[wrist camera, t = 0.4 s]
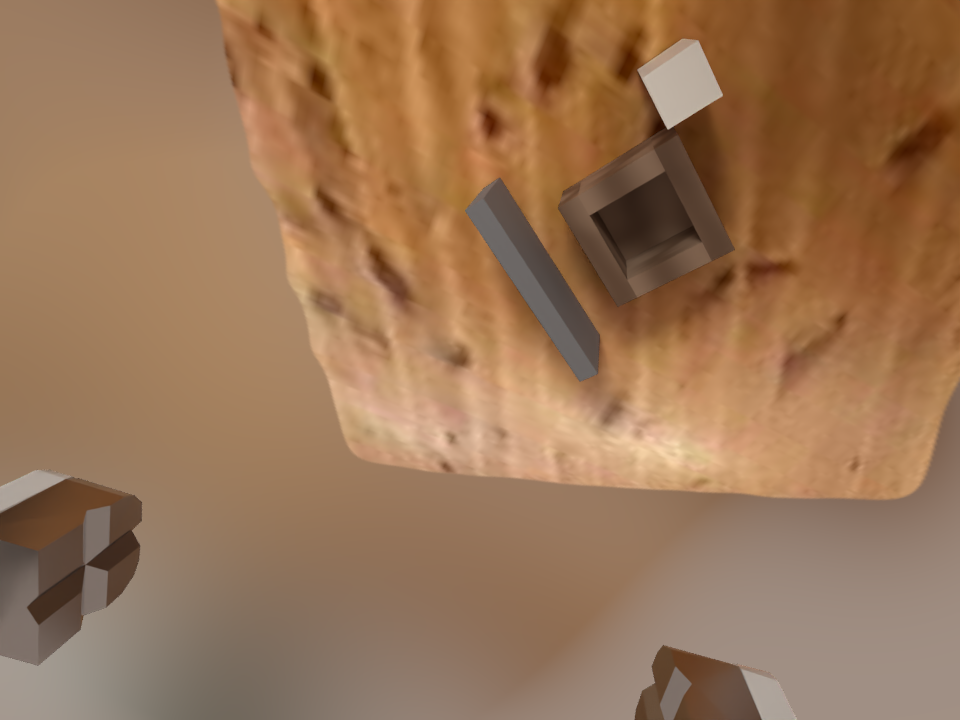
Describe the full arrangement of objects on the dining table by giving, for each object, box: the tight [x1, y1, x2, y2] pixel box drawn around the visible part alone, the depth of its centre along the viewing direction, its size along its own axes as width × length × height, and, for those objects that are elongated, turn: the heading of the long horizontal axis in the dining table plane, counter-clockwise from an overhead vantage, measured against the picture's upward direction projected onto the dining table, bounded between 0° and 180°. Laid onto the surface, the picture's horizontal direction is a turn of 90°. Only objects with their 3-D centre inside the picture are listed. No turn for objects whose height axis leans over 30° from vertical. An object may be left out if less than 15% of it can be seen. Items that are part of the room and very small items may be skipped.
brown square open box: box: [558, 127, 735, 307], centre depth 50 cm, size 11×11×6 cm
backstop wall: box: [465, 178, 600, 381], centre depth 53 cm, size 2×20×8 cm, turn 35°
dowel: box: [637, 39, 723, 129], centre depth 42 cm, size 4×4×10 cm
